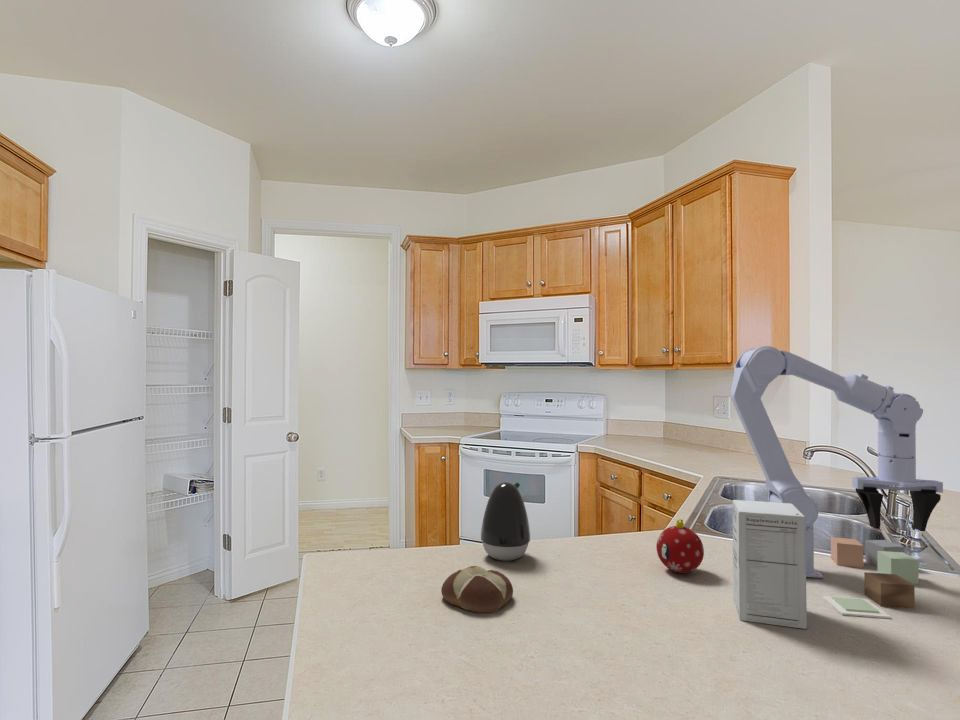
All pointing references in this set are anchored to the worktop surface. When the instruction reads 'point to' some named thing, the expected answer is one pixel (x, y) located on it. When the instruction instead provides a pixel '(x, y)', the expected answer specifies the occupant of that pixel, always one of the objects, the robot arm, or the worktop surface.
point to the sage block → (898, 565)
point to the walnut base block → (889, 590)
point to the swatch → (855, 607)
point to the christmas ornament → (680, 548)
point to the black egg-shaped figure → (505, 523)
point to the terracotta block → (847, 552)
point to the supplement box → (769, 563)
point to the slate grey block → (879, 549)
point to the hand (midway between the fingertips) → (897, 528)
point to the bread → (477, 589)
